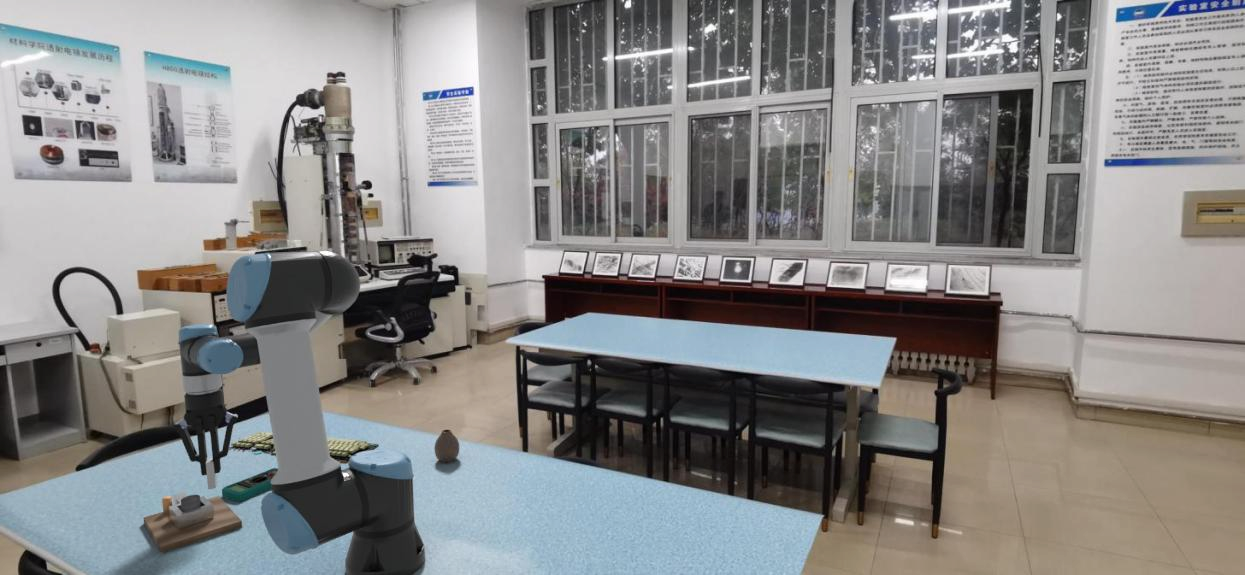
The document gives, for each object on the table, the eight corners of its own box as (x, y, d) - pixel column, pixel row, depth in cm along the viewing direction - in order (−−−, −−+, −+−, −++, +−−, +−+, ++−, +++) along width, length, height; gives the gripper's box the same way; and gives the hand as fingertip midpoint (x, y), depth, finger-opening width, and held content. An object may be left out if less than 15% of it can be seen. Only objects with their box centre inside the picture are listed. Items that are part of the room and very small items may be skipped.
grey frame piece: (214, 517, 143) (213, 505, 143) (179, 529, 138) (177, 516, 138) (196, 500, 151) (195, 488, 151) (162, 510, 146) (161, 498, 146)
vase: (433, 457, 182) (432, 428, 181) (457, 453, 185) (456, 425, 184) (436, 466, 176) (435, 436, 174) (461, 462, 178) (460, 432, 177)
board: (242, 526, 142) (239, 499, 141) (161, 553, 131) (158, 524, 131) (219, 501, 154) (217, 476, 154) (144, 523, 144) (141, 496, 143)
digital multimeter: (294, 481, 167) (293, 470, 167) (238, 504, 154) (237, 493, 154) (276, 475, 170) (275, 465, 170) (220, 498, 157) (219, 487, 157)
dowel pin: (173, 512, 146) (172, 497, 146) (164, 514, 145) (163, 500, 144) (171, 509, 147) (170, 495, 147) (162, 512, 146) (161, 497, 146)
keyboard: (379, 448, 191) (379, 440, 190) (347, 468, 177) (347, 459, 176) (256, 435, 201) (255, 427, 201) (217, 453, 187) (216, 444, 187)
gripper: (237, 382, 153) (245, 475, 156) (172, 390, 147) (182, 486, 150) (234, 390, 146) (242, 486, 149) (166, 398, 141) (176, 498, 143)
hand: (212, 486), depth 150 cm, fingers closed
